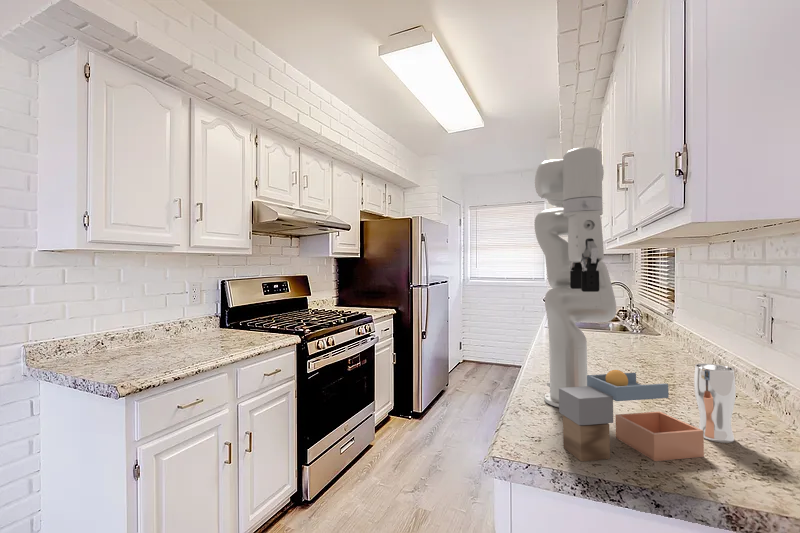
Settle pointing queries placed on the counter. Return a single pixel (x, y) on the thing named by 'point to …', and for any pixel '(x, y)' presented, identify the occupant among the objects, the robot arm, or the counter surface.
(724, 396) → the beer glass
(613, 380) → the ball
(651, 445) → the shallow terracotta crate
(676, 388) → the counter surface
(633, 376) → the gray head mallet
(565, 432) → the pedestal
